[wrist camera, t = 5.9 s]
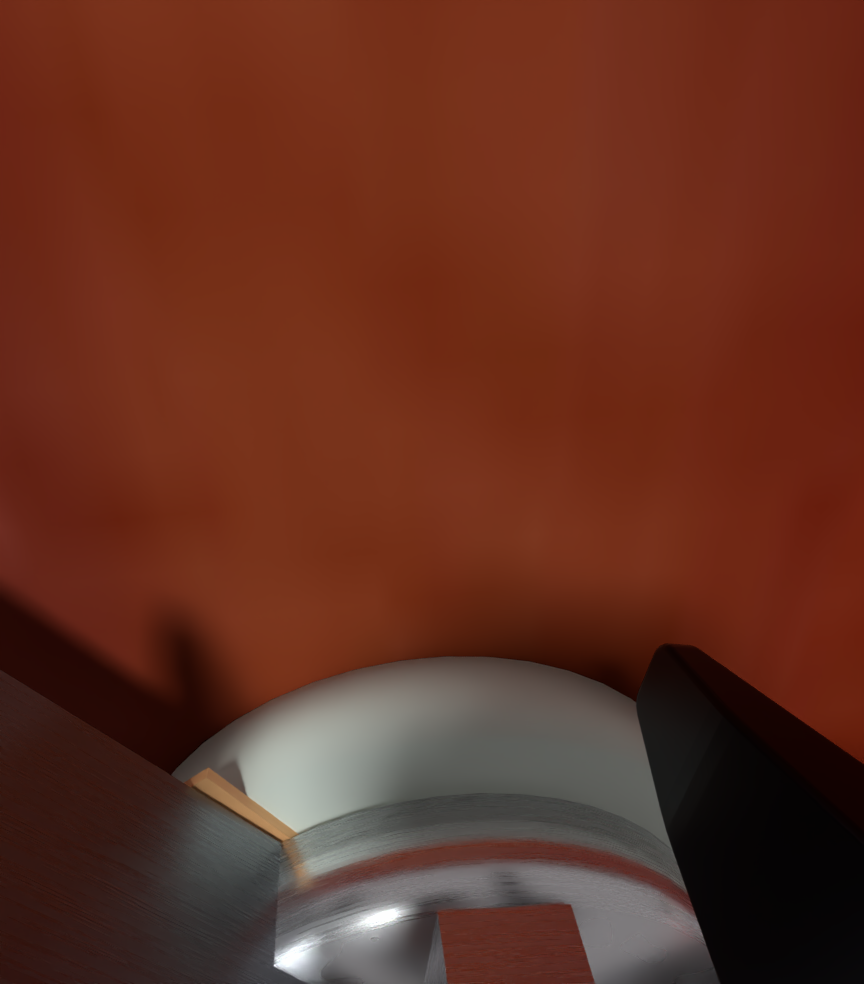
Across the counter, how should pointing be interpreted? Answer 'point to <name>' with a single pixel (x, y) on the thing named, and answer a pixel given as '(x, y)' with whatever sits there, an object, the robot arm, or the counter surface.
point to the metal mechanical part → (314, 882)
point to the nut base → (428, 744)
